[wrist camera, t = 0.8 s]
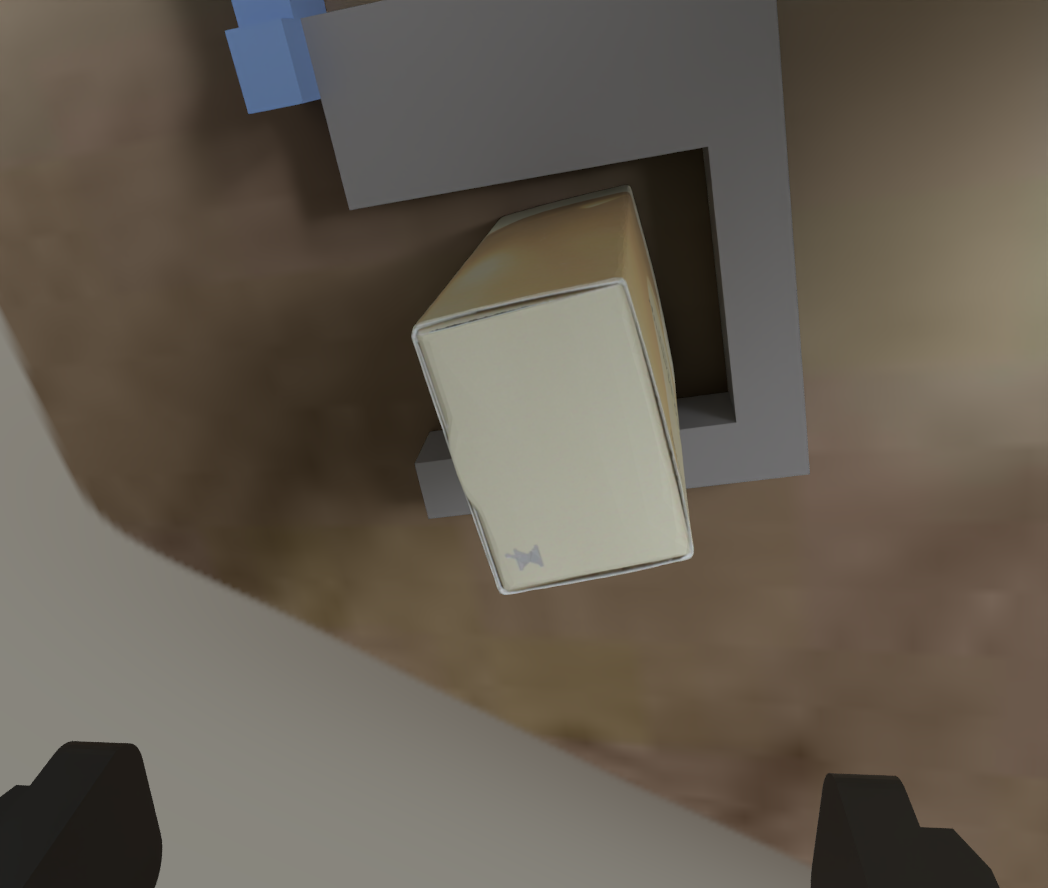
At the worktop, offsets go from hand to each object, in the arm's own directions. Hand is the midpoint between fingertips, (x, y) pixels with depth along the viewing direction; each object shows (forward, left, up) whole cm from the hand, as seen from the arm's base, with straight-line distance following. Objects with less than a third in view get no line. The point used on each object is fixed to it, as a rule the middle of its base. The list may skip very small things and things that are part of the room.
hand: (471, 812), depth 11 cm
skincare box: (-1, -1, -21) cm, 21 cm away
